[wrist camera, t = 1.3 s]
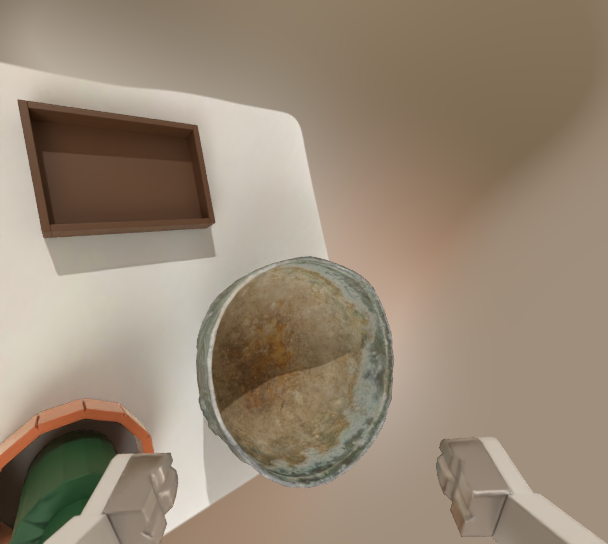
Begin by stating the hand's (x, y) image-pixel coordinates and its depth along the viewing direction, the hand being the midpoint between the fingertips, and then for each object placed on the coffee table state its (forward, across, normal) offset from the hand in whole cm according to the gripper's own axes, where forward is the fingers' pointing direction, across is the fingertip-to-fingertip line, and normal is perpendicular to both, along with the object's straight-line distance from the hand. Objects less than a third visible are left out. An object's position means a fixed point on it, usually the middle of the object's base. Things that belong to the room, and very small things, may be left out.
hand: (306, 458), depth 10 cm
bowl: (+26, +7, +16) cm, 31 cm away
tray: (+28, +18, -5) cm, 34 cm away
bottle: (+12, +21, +17) cm, 30 cm away
